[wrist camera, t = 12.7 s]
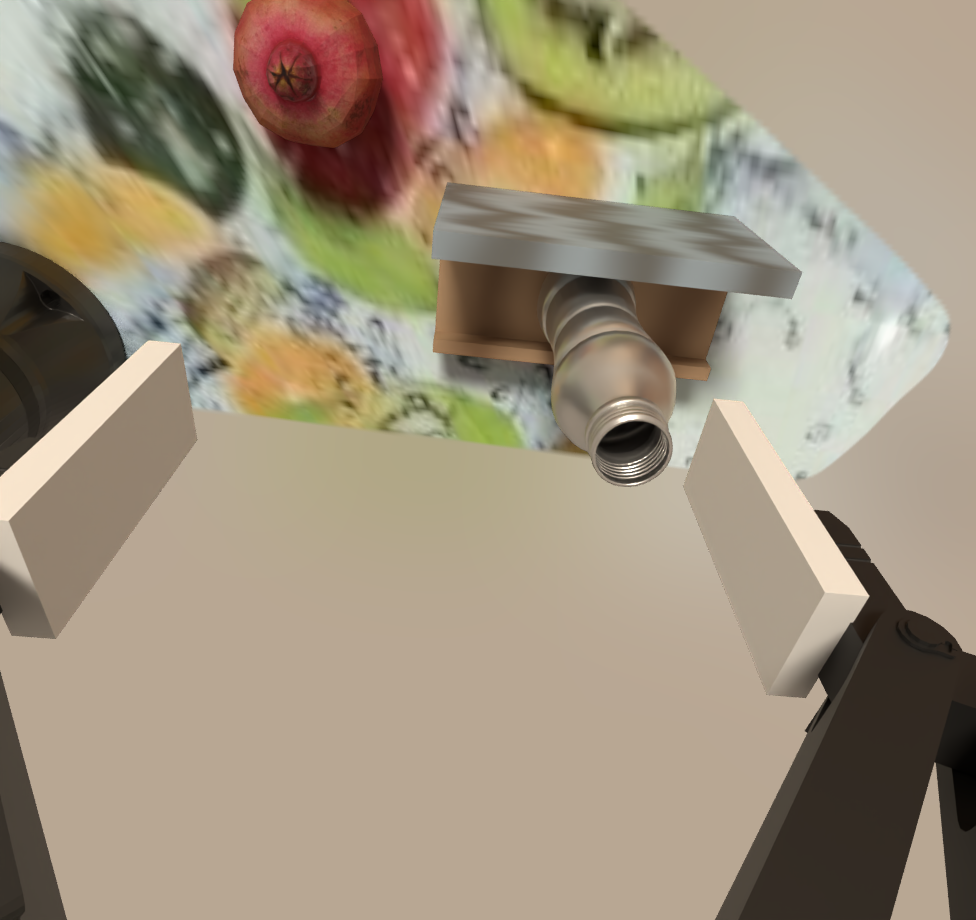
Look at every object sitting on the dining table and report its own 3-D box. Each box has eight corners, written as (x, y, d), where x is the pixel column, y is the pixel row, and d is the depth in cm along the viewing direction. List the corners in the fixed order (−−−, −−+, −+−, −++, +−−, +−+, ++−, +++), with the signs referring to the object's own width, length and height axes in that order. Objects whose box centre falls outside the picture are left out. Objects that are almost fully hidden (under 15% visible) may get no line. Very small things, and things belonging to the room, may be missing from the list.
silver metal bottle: (640, 251, 43) (730, 397, 27) (613, 343, 47) (677, 520, 31) (545, 236, 43) (579, 374, 26) (526, 330, 47) (544, 503, 30)
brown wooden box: (437, 327, 50) (422, 404, 40) (447, 182, 44) (433, 230, 34) (691, 354, 51) (738, 435, 41) (734, 216, 45) (802, 272, 35)
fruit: (285, -49, 37) (224, -68, 29) (412, 34, 39) (390, 38, 31) (242, 92, 41) (179, 111, 33) (360, 160, 43) (328, 194, 35)
